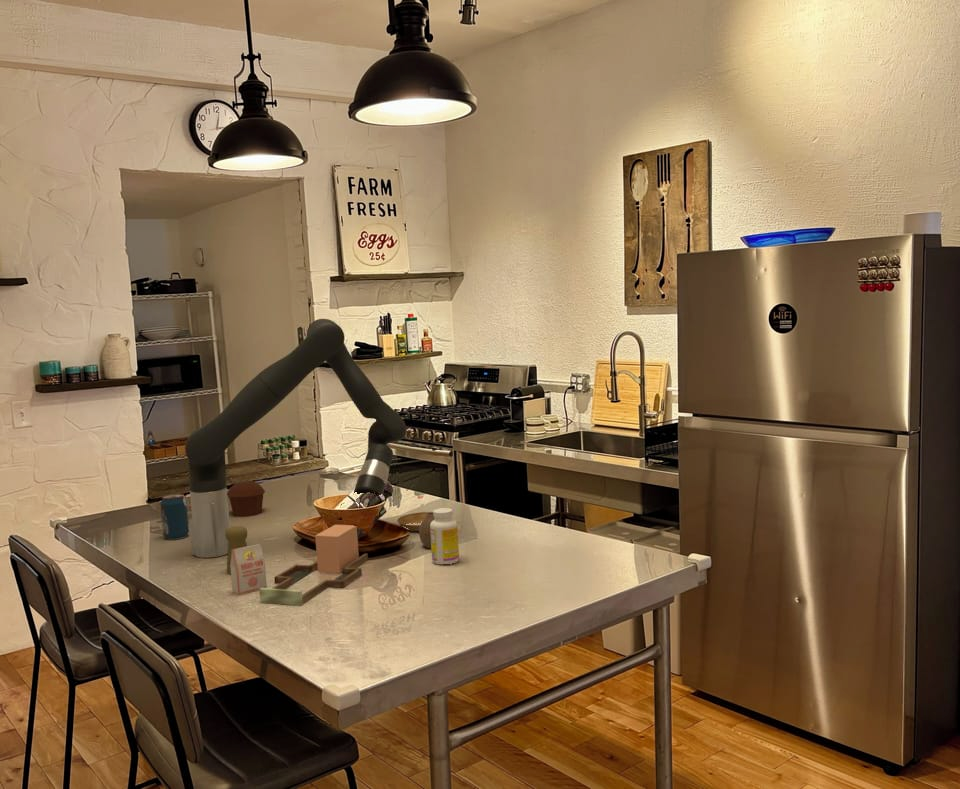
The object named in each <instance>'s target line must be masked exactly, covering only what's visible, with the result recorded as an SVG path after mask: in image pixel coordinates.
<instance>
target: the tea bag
mask: <svg viewBox="0 0 960 789" xmlns="http://www.w3.org/2000/svg"><path fill="white" fill-rule="evenodd" d="M262 549H263V548H262V544H261V543H258V544H253V545H247V547H243V548H238V549H233V550H232V555H231V564H230V568H231V574H230V578H231V591H232V592H233V593H235V594H236V595H237V596H239V595H244V594H247V592H248V593H251V591H252V592H255V590H256V591H259V589H260V588H268V586H267V585H268V584H267V574H266V573H267V572H266V562H265V558H264V553H263V550H262ZM243 593H244V594H243Z"/></svg>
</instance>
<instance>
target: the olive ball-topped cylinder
mask: <svg viewBox="0 0 960 789" xmlns="http://www.w3.org/2000/svg"><path fill="white" fill-rule="evenodd" d="M225 536H226V539H227V540H228V554H227V558H226V560H227V561H226V574H227V573H228V575H231V568H230V564H231V555H232V550H233V549H238V548H243V547H247V546H248V544H247V540H246V539H247V538H248V529H247V528H246V527H245V526H243V525H235V526H230V528H228V529H227V530H226V533H225Z"/></svg>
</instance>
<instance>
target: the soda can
mask: <svg viewBox="0 0 960 789" xmlns="http://www.w3.org/2000/svg"><path fill="white" fill-rule="evenodd" d="M160 514H161V525H162V534H163V537H164V538H165V539H166V540H170V541H171V540H172V541H173V540H175V541H176V540H180V539H181V540H182V539H185V538H186V537H187V536H188V535H189V533H190V526H189V517H188V515H189V514H188V507H187V500H186V498H185V496H184V494H183V493H170V494H165V495H163V496H162V497H161V501H160Z"/></svg>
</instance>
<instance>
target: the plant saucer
mask: <svg viewBox="0 0 960 789" xmlns="http://www.w3.org/2000/svg"><path fill="white" fill-rule="evenodd" d="M430 512H431V511H421V512H413V513H409V514H405V515H402V516H400V517H398V518H397V520H396V521H397V523H398V524H399V525H400V526H401V527H402V526H404V527H406V528H408V529H409V530H410V532H414V531H419V530H420V526H421V525H406V524H409V523H411V524H413V523H417V524H418V523H421V521H422V522H423V520H424V519H425V517H426V515H427V513H430Z"/></svg>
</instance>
